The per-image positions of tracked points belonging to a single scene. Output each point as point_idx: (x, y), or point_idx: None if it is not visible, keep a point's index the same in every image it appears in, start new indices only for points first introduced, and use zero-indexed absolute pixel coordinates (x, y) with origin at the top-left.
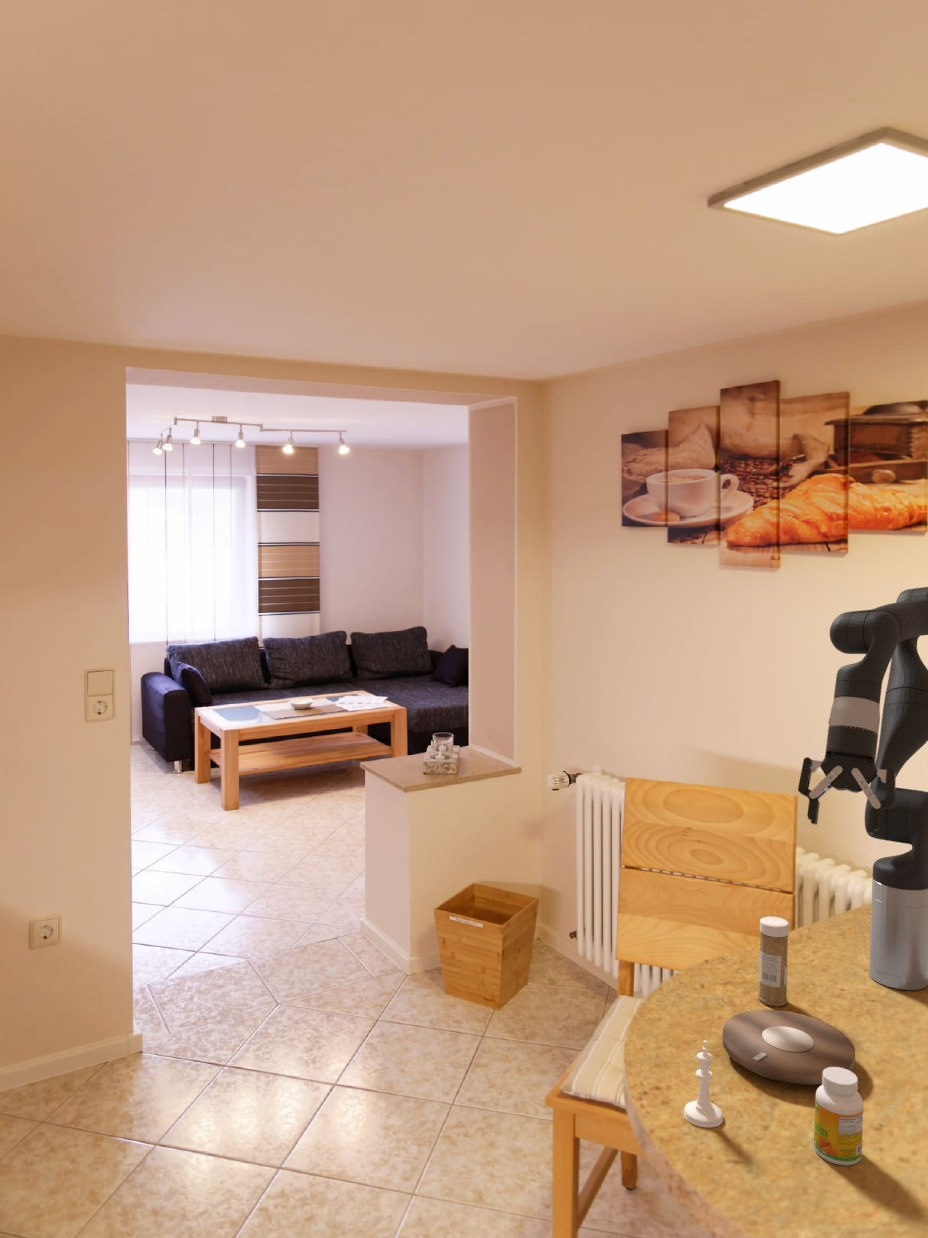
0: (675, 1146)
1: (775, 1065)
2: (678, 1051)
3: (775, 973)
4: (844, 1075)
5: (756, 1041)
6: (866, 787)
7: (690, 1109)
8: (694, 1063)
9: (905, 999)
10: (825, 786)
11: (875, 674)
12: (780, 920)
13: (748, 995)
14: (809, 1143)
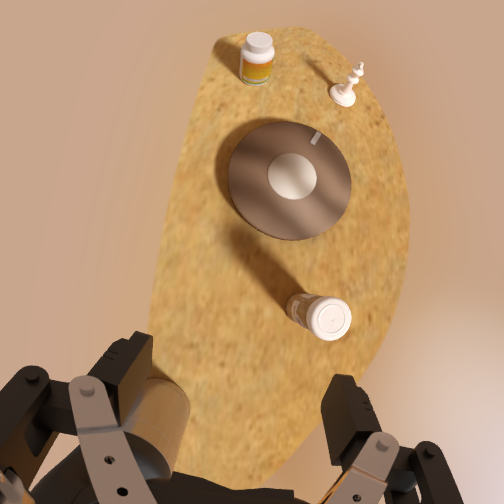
0: (350, 70)
1: (302, 129)
2: (375, 175)
3: (309, 294)
4: (256, 39)
5: (320, 165)
6: (102, 457)
7: (351, 91)
8: (361, 159)
9: (156, 358)
10: (353, 475)
11: None
12: (323, 324)
13: None
14: (272, 80)
